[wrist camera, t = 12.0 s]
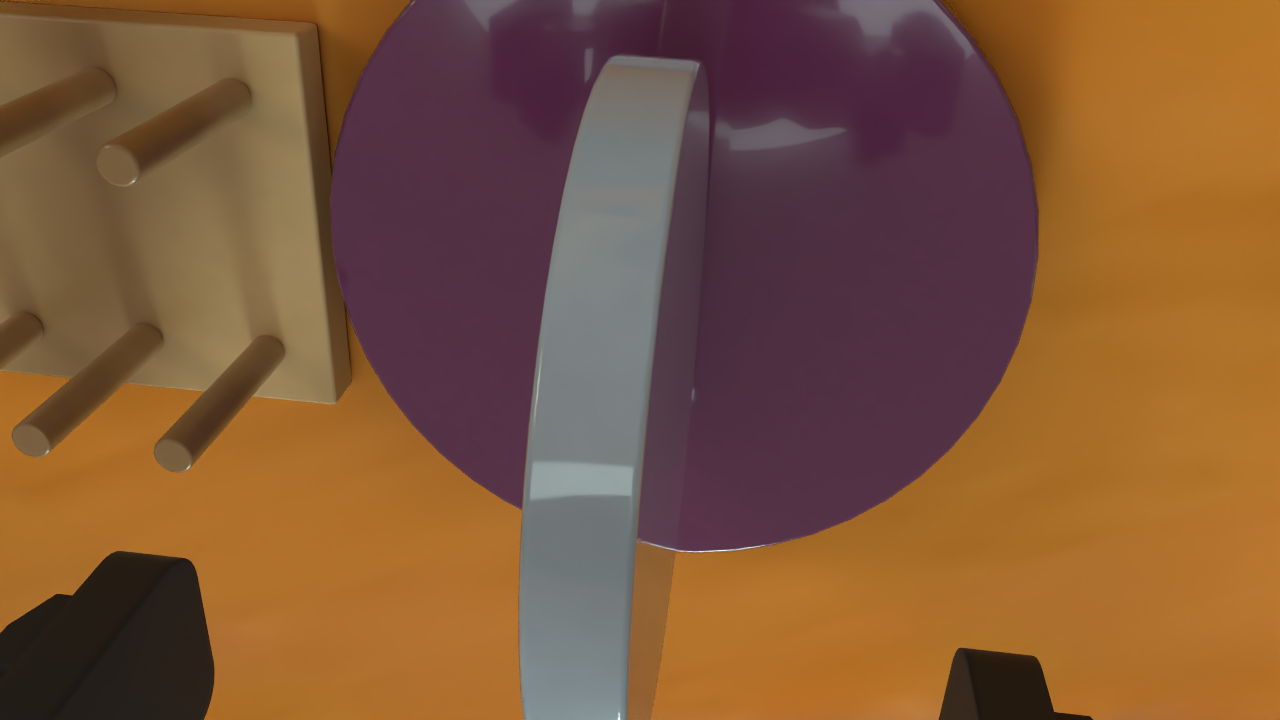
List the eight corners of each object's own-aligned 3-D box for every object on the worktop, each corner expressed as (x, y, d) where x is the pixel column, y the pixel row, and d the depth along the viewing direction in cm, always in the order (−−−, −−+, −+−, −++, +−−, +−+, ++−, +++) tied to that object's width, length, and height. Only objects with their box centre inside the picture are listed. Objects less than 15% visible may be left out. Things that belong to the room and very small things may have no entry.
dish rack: (-96, 338, 25) (-287, 460, 21) (-206, -15, 21) (-467, 43, 17) (353, 383, 24) (253, 521, 20) (318, 21, 20) (186, 93, 16)
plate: (628, 488, 23) (523, 942, 14) (649, -14, 18) (505, 214, 9) (686, 494, 23) (615, 955, 14) (722, -9, 18) (648, 226, 9)
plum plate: (376, 487, 25) (357, 519, 24) (319, -139, 19) (291, -133, 18) (960, 551, 24) (966, 587, 23) (1103, -96, 18) (1122, -87, 17)
